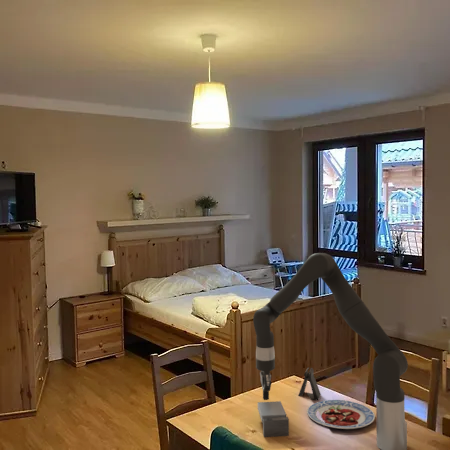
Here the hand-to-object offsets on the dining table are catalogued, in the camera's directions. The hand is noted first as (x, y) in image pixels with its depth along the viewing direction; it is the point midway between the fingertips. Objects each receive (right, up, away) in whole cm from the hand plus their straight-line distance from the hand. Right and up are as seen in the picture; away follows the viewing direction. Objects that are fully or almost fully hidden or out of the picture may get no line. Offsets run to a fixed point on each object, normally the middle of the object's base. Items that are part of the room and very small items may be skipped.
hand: (265, 399), depth 200 cm
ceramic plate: (+29, -6, -5) cm, 30 cm away
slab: (+1, -1, -13) cm, 13 cm away
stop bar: (+2, -7, -20) cm, 22 cm away
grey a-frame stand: (+20, -5, +16) cm, 26 cm away
